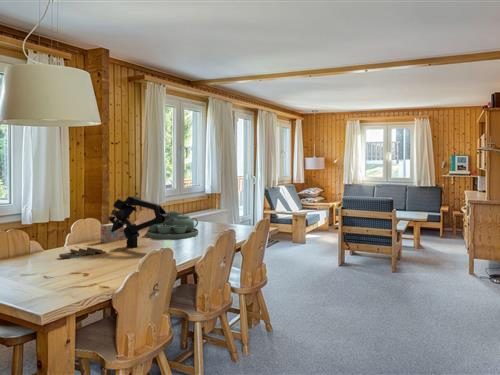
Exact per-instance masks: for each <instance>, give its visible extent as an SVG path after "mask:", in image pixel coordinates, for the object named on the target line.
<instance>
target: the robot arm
mask: <svg viewBox="0 0 500 375" xmlns="http://www.w3.org/2000/svg"><path fill="white" fill-rule="evenodd" d="M137 207H142V208H146V209H149V210H153V212H154V216H155V217H154V218H153V219H150V220H147V221H144V222H142V223H140V224H136V223H133V224H132V222H131V221H130V220H129V219H130V218H131V215H132V213H133V212H135V213H137V212H138V210H137ZM113 208H114V209H111V212H110V215H111V216H109V217H108V218H107V219H108V221H109V222H110V223H113V226H112V229H111V232H114V231H116V230H118V229H120V228H122V227H124V226H126V228H125V229H124V234H125V237H126V238H128V239H126V247H127V248H130V249H131V248H139V246H138V237H140V233H139V231H141V230H145V229H146V228H149V227H150V226H152V225H155V224H161V223H165V222H168V221H169V216H168V215H167V214H166V211H165V209H164V208H163V207H162V205H161V204H159V203H155V202H151V201H147V200H144V199H141V198H140V197H138V196H136V195H133V196H128V197H127V198H126V199H125V200H123V199H121V198H117V200H116V201H115V202H114V203H113Z"/></svg>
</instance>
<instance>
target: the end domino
mask: <svg viewBox="0 0 500 375" xmlns="http://www.w3.org/2000/svg"><path fill="white" fill-rule="evenodd" d="M83 256H84V255H81V254H77V256H74V257H68V258H67V259H70V260H71V259H74V258H83Z"/></svg>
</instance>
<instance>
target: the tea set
mask: <svg viewBox="0 0 500 375" xmlns="http://www.w3.org/2000/svg"><path fill="white" fill-rule="evenodd" d="M165 212H166V214H167V215H168V216H169V221H168V222H165V223H161V224H155V225H152V226H150V227H148V229H147V230H146V236H147V237H150V238H153V239H161V240H177V239H180V238H181V239H188V238H194V237H196V236H197V235H198V234H199V229H197V228H196V227H197V226H198V224H199V221H198V219H197V218H194V217H193V218H192V217H190V216H189V215H188V214H184V213H182V214H180V211H178V210H177V211H176V210H168V211H165ZM194 220H195V221H196V224H195V222H194Z"/></svg>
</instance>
